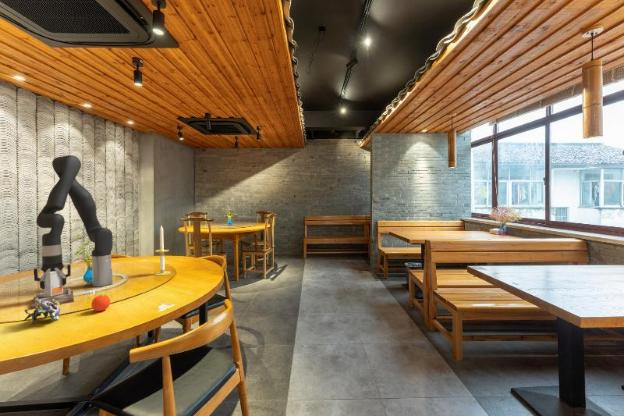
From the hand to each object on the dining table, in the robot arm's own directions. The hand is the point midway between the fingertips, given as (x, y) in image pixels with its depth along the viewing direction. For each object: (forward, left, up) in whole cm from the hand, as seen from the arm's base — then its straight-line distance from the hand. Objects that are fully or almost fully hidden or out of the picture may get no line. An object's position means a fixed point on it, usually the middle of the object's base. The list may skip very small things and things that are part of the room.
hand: (53, 287), depth 146 cm
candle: (-54, -19, -6) cm, 58 cm away
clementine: (-17, +34, -6) cm, 39 cm away
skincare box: (0, 0, -4) cm, 4 cm away
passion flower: (+3, +34, -6) cm, 34 cm away
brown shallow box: (0, +2, -6) cm, 7 cm away
